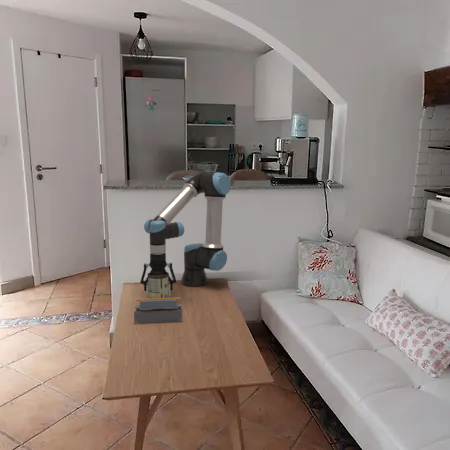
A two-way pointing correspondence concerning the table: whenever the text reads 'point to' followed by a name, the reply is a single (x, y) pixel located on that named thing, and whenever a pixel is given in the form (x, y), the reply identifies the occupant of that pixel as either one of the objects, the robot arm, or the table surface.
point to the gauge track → (158, 316)
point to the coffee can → (158, 285)
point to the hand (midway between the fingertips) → (158, 296)
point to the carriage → (158, 303)
